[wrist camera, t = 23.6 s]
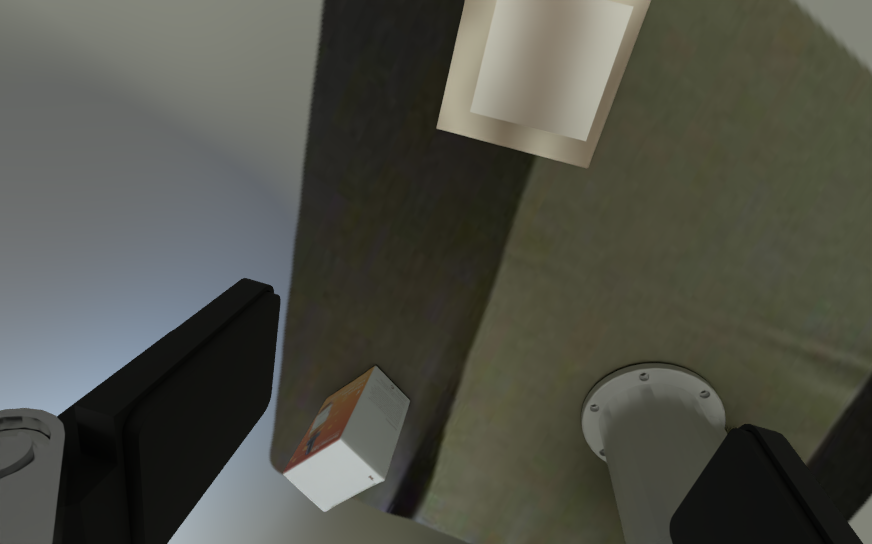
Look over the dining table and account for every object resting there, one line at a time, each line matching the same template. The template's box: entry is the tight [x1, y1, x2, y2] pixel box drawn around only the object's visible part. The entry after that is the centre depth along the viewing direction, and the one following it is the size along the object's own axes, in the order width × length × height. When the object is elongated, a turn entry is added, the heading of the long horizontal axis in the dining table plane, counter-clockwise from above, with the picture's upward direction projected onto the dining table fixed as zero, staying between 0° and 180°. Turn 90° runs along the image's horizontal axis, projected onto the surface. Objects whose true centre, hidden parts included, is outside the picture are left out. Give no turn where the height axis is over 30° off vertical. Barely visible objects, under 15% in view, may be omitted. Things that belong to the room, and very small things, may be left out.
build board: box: [437, 0, 651, 169], centre depth 33 cm, size 12×12×1 cm
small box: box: [283, 366, 410, 512], centre depth 44 cm, size 8×6×10 cm
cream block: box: [470, 0, 633, 141], centre depth 25 cm, size 6×6×6 cm
